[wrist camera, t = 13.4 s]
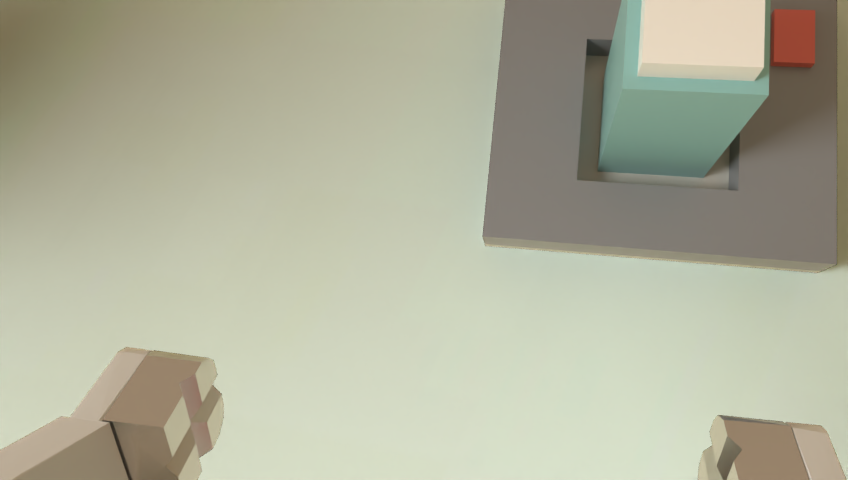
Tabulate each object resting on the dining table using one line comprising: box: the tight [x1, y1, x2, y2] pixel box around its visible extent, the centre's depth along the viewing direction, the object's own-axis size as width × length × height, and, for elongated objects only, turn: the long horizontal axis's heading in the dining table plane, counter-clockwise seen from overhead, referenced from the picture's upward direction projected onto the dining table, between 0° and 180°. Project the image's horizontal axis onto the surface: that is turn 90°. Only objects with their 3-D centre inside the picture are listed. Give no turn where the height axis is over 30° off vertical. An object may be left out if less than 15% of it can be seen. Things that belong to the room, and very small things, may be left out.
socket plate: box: [483, 0, 837, 273], centre depth 32 cm, size 14×12×2 cm
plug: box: [598, 0, 771, 178], centre depth 28 cm, size 4×4×10 cm
